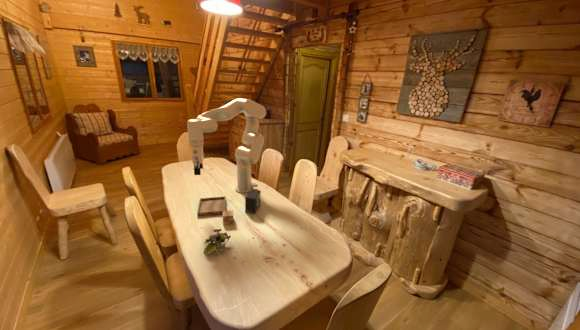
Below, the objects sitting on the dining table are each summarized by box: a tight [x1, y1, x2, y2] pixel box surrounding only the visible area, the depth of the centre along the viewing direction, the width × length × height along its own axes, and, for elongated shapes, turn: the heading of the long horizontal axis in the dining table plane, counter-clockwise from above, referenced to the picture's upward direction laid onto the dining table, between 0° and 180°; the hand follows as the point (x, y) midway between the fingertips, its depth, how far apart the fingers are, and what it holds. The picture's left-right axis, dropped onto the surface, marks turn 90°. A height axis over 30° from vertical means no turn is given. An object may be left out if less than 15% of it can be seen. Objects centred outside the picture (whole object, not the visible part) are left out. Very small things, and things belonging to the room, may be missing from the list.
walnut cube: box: [222, 209, 235, 226], centre depth 131 cm, size 6×6×6 cm
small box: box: [244, 189, 262, 215], centre depth 143 cm, size 11×6×10 cm, turn 168°
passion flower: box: [203, 228, 232, 255], centre depth 109 cm, size 11×11×12 cm
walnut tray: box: [196, 196, 227, 217], centre depth 144 cm, size 16×18×2 cm
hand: (198, 171), depth 135 cm, fingers open, 9 cm apart
